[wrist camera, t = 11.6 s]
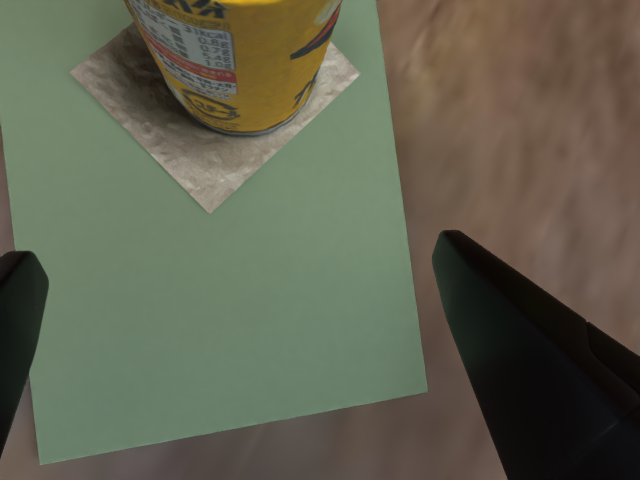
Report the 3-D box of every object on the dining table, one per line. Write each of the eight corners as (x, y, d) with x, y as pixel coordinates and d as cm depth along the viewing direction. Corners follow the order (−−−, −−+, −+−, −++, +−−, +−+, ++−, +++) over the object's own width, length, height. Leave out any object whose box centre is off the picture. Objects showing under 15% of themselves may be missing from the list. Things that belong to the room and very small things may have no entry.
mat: (425, 390, 18) (428, 392, 17) (43, 461, 15) (39, 465, 15) (358, -116, 18) (360, -123, 18) (-23, -117, 16) (-28, -124, 16)
